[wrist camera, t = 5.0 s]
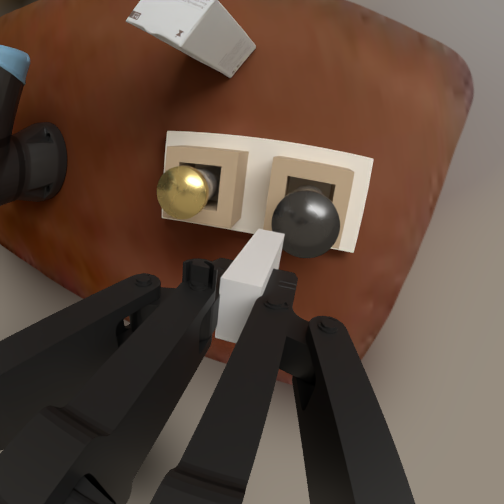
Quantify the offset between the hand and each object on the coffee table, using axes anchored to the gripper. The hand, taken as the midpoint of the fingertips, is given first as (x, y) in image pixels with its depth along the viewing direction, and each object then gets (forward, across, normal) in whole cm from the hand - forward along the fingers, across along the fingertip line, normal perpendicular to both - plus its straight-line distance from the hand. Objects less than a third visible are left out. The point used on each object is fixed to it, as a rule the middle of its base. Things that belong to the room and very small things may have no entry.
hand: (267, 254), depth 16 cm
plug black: (+15, +2, +1) cm, 16 cm away
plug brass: (+19, -11, 0) cm, 22 cm away
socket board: (+21, -5, 0) cm, 22 cm away
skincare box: (+21, -13, +18) cm, 31 cm away
